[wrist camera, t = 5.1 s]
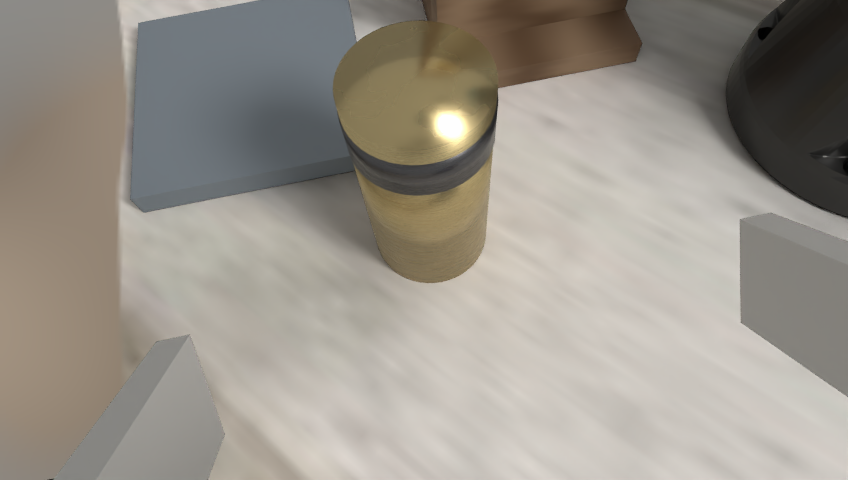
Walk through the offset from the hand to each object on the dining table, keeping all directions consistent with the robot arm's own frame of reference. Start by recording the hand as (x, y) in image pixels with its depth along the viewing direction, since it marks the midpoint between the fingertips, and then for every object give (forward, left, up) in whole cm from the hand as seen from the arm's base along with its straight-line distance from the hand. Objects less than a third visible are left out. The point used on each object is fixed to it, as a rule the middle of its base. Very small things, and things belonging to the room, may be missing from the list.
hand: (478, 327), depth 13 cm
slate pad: (+9, -22, -15) cm, 28 cm away
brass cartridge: (0, -10, -15) cm, 18 cm away
